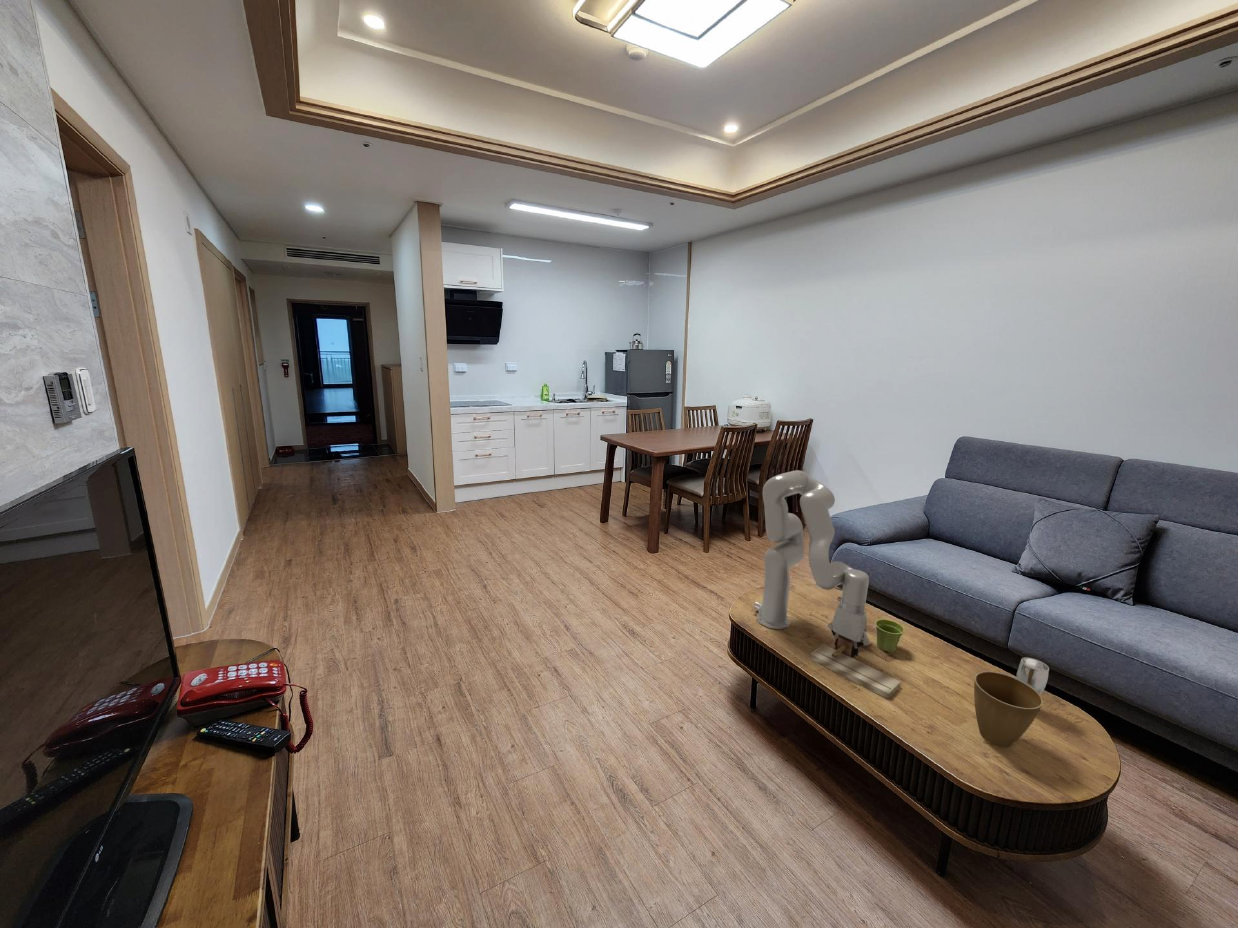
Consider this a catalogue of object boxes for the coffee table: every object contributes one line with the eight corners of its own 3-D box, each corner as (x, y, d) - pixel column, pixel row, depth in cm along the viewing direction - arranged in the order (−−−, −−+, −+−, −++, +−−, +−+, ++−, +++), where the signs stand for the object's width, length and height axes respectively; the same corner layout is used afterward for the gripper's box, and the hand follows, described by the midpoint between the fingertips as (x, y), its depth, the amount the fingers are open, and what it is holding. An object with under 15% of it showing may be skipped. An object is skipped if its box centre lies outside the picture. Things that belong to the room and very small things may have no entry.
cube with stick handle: (825, 660, 171) (827, 644, 170) (840, 648, 178) (843, 633, 177) (839, 667, 168) (842, 651, 166) (854, 654, 174) (857, 639, 173)
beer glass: (1004, 702, 154) (1014, 659, 150) (1019, 697, 156) (1029, 655, 153) (1029, 717, 147) (1040, 673, 144) (1044, 712, 150) (1055, 668, 146)
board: (809, 658, 173) (810, 653, 172) (822, 649, 179) (823, 643, 178) (887, 699, 154) (888, 693, 153) (899, 686, 159) (900, 681, 159)
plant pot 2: (952, 727, 143) (962, 678, 139) (984, 712, 149) (995, 666, 145) (1009, 766, 130) (1022, 714, 126) (1042, 749, 136) (1055, 698, 132)
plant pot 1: (906, 652, 178) (910, 630, 176) (887, 657, 175) (891, 635, 173) (884, 637, 187) (888, 617, 185) (865, 642, 183) (869, 621, 181)
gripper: (823, 599, 175) (817, 644, 179) (873, 619, 162) (865, 668, 166) (834, 592, 179) (827, 637, 184) (883, 612, 167) (875, 659, 171)
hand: (845, 651), depth 175 cm, fingers closed on cube with stick handle, 5 cm apart
